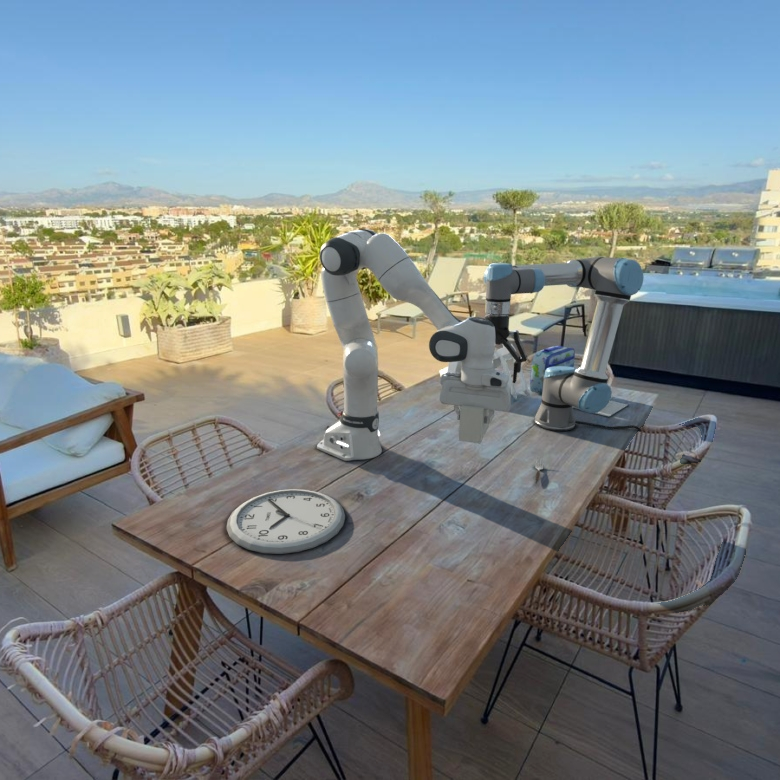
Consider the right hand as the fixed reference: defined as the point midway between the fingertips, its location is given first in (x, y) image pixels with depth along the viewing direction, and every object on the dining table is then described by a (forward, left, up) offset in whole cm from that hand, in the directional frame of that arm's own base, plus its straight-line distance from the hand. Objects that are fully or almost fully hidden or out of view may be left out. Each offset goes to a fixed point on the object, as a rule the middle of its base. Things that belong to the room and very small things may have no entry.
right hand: (493, 379), depth 169 cm
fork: (-15, +13, -26) cm, 33 cm away
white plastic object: (0, -70, -26) cm, 75 cm away
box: (+5, +13, -12) cm, 18 cm away
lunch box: (-34, -78, -26) cm, 89 cm away
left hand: (+7, +21, -7) cm, 23 cm away
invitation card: (-52, -58, -26) cm, 82 cm away
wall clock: (+54, +50, -26) cm, 78 cm away
